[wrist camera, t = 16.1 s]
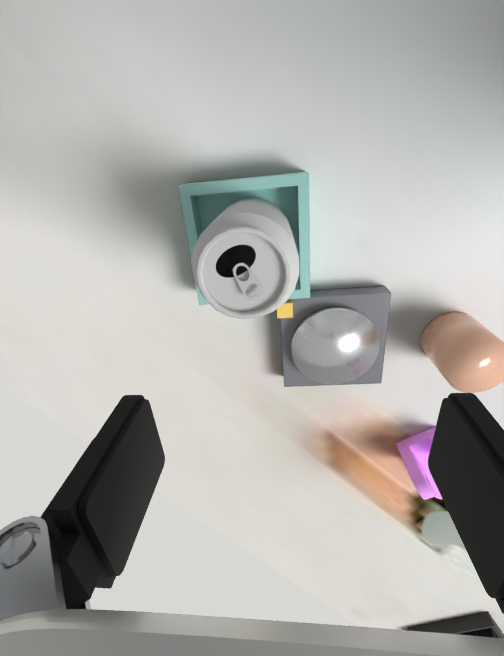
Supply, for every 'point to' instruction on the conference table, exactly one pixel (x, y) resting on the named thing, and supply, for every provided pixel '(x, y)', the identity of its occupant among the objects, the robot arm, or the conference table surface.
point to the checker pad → (334, 345)
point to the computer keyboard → (464, 626)
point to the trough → (279, 189)
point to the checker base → (362, 299)
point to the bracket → (419, 462)
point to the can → (246, 260)
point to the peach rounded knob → (464, 352)
